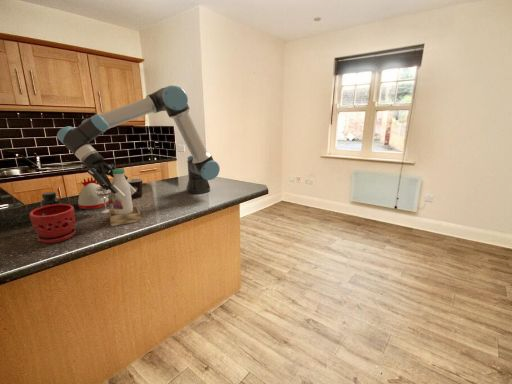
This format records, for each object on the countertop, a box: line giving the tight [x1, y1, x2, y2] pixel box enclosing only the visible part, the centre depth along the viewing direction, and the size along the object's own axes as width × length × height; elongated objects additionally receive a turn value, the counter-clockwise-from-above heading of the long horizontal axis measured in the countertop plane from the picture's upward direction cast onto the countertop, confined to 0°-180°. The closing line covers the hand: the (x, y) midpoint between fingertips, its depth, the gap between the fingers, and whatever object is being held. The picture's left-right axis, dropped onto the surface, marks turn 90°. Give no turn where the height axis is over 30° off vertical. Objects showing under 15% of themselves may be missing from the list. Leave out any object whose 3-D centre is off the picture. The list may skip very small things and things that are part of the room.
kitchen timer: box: [77, 176, 110, 210], centre depth 135 cm, size 14×14×15 cm
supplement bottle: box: [40, 191, 61, 216], centre depth 115 cm, size 7×7×12 cm
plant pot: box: [29, 203, 77, 244], centre depth 96 cm, size 13×13×12 cm
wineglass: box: [95, 186, 112, 214], centre depth 125 cm, size 7×7×12 cm
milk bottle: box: [111, 168, 134, 215], centre depth 114 cm, size 8×8×20 cm
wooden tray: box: [108, 205, 142, 227], centre depth 117 cm, size 12×12×4 cm
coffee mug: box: [127, 178, 143, 200], centre depth 150 cm, size 12×9×10 cm
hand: (128, 195), depth 114 cm, fingers closed on milk bottle, 7 cm apart
